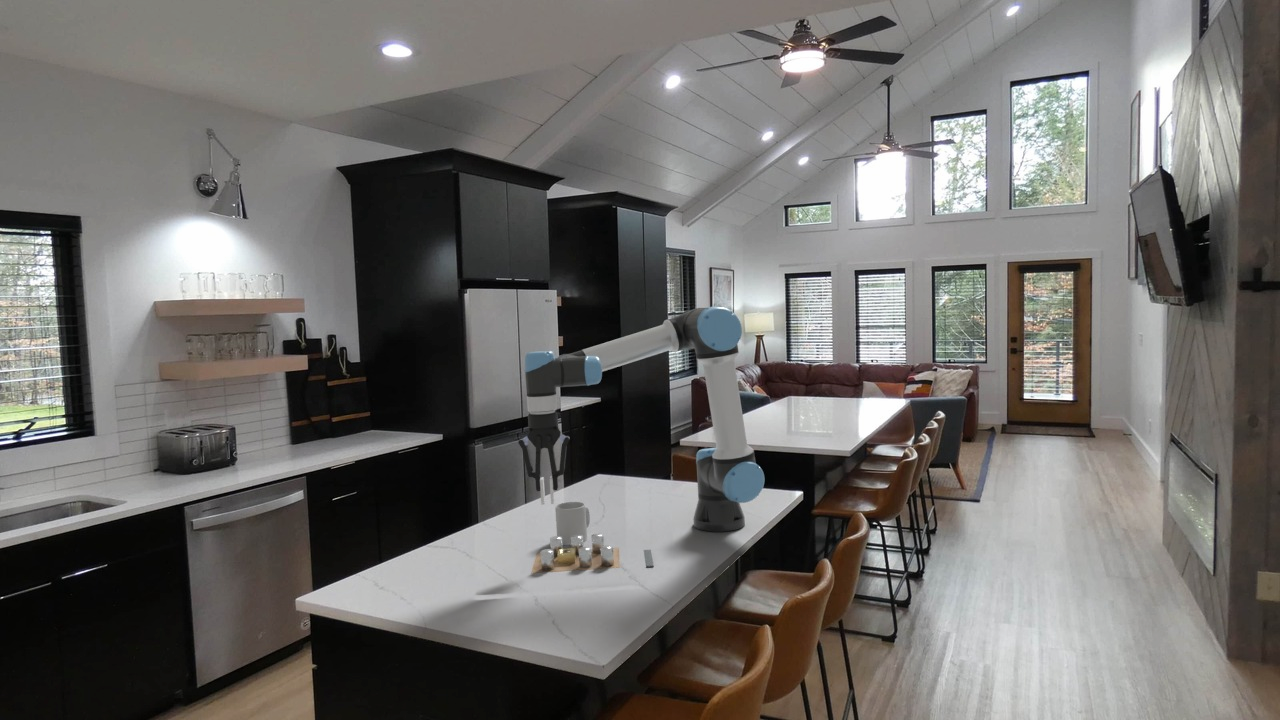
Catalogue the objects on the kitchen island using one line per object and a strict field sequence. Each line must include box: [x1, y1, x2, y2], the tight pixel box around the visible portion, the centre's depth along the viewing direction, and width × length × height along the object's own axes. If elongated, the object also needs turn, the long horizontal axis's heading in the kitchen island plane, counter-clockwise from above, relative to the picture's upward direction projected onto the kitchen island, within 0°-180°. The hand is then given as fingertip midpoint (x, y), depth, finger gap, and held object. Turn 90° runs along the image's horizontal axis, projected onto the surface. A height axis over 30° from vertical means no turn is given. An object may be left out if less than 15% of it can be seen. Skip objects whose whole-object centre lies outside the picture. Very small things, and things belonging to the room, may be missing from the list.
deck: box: [530, 547, 621, 574], centre depth 195 cm, size 22×16×1 cm
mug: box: [555, 501, 591, 546], centre depth 213 cm, size 12×8×11 cm
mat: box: [643, 549, 655, 568], centre depth 195 cm, size 8×13×1 cm, turn 2°
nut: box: [557, 548, 576, 564], centre depth 194 cm, size 4×4×3 cm
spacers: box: [540, 533, 614, 571], centre depth 195 cm, size 18×14×4 cm
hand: (548, 502), depth 193 cm, fingers open, 2 cm apart
